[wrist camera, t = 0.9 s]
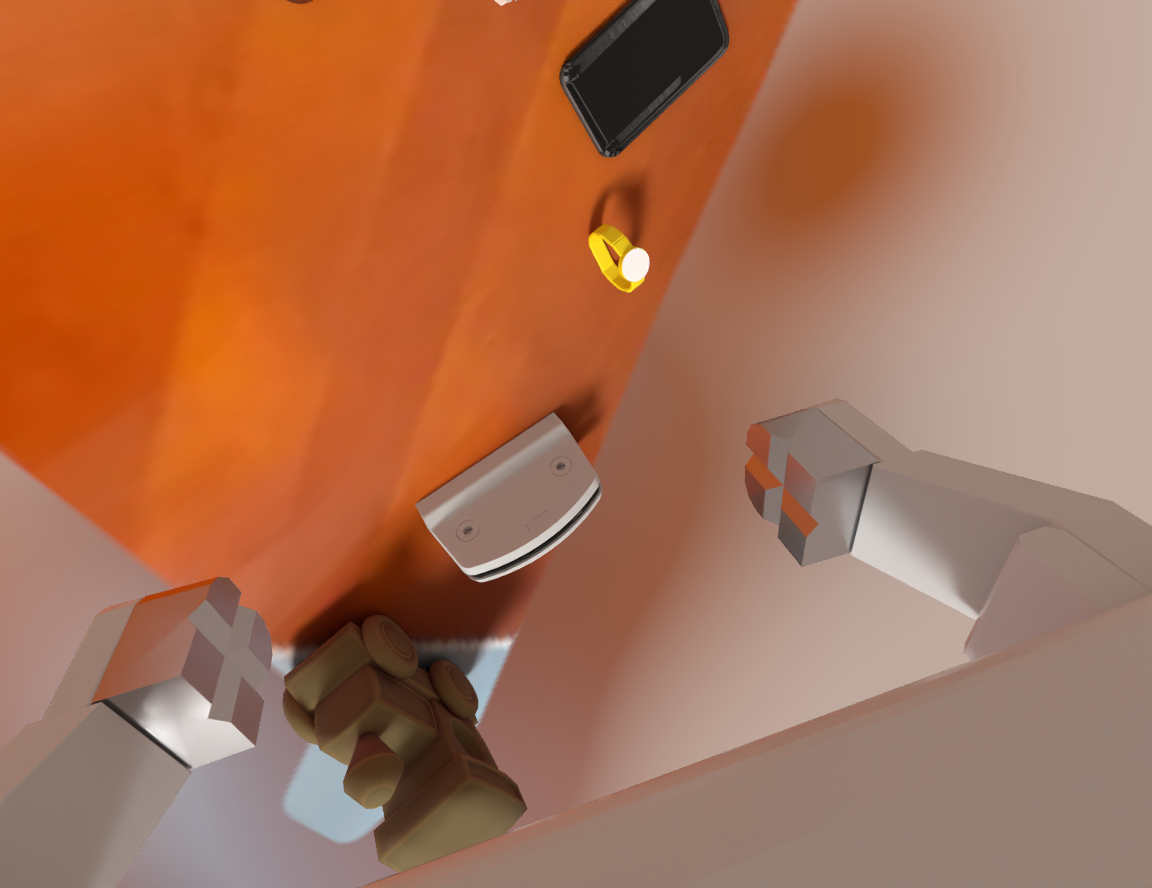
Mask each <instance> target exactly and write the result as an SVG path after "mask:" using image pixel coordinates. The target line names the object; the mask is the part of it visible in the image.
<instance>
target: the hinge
mask: <svg viewBox="0 0 1152 888" xmlns="http://www.w3.org/2000/svg"><path fill="white" fill-rule="evenodd" d="M601 491H602V486H601V483H600V481H599V477H598V475H597V474H596V472H595V471H594V469H593V467H592V466H591V464H590V463H589V461H588V459H587V458H586V456H585V455H584V453H583V452H582V450H581V449H580V447H579V446H578V444H577V442H576V441H575V439H574V438H573V436H572V435H571V433H570V432H569V430H568V429H567V428H566V426H565V425H564V424H563V422H562V421H561V420H560V419H559V418H558V417H557V415H556V414H555V413H554V412H553V413H551V414H550V415H548V416H547V417H545V418H544V419H543V420H541V421H540V422H538V423H537V424H535V425H534V426H532V427H531V428H529V429H528V430H526V431H525V432H523V433H522V434H520V435H519V436H517V437H516V438H514V439H513V440H511V441H510V442H508V443H507V444H505V445H504V446H502V447H501V448H499V449H498V450H496V451H495V452H493V453H492V454H490V455H489V456H487V457H486V458H484V459H483V460H481V461H480V462H478V463H477V464H475V465H474V466H472V467H471V468H469V469H468V470H466V471H465V472H463V473H462V474H460V475H459V476H457V477H456V478H454V479H453V480H451V481H450V482H448V483H447V484H445V485H444V486H442V487H441V488H439V489H438V490H436V491H435V492H433V493H432V494H430V495H429V496H427V497H426V498H424V499H423V500H421V501H420V502H418V503H417V504H415V505H416V507H417V509H418V511H419V513H420V514H421V516H422V518H423V520H424V522H425V524H426V526H427V528H428V530H429V531H430V532H431V533H432V534H433V536H434V537H435V538H436V539H437V541H438V542H439V543H440V544H441V545H442V547H443V548H444V549H445V550H446V551H447V553H448V554H449V555H450V556H451V557H452V559H453V560H454V561H455V562H456V563H457V565H458V566H459V567H460V568H461V570H462V571H463V572H464V573H466V575H467V576H468V577H469V578H470V579H472V580H475V581H478V582H486V581H489V580H492V579H495V578H498V577H501V576H503V575H506V574H509V573H511V572H513V571H515V570H518V569H520V568H522V567H524V566H525V565H527V564H529V563H531V562H533V561H534V560H536V559H538V558H539V557H541V556H543V555H544V554H546V553H547V552H548V551H550V550H551V549H553V548H554V547H555V546H557V545H558V544H559V543H560V542H562V541H563V540H564V539H565V538H566V537H567V536H568V535H570V534H571V533H572V532H573V531H574V530H575V529H576V528H577V527H578V526H579V525H580V524H581V522H582V521H583V520H584V519H585V518H586V517H587V516H588V514H589V513H590V512H591V511H592V509H593V508H594V507H595V505H596V504H597V502H598V501H599V499H600V497H601Z"/></svg>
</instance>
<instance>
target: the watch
mask: <svg viewBox="0 0 1152 888" xmlns="http://www.w3.org/2000/svg"><path fill="white" fill-rule="evenodd" d="M603 239H604V240H605V241H606V242H607V243H608V244H609V245H611V246H612V247H613V249H614V250H615V251H616V253H617V254H618V255H619V256H620V258H619V262H618V267H617V266H616V264H615V263H614V262H613V260H612V258H611V256H610V254H609V252H608V249H607V247H606V245H605V243H604V241H603ZM589 247H590V249H591V251H592V252H593V254H594V256H595V258H596V260H597V262H598V264H599V266H600V268H601V272H603V274H604V275H605V276H606V277H607V278H608V280H609V281H610V282H611V283H612V284H613V285H615V286H616V287H617V288H619V289H620V290H622V291H626V292H631V291H632V290H634V289H635V288H636V287H637V286H639V285H640V284H641V283H642V282H643V281H644V279H645V275H646V273H647V271H648V268H649V256H648V254H647V252H646V251H645V250H644V249H642V248H639V247H635V246H634V247H633V245H632V244H631V243H630V241H629V240H628V239H627V237H626V236H624V234H623V233H621V232H620V231H619V230H618V229H617V228H615V227H614V226H611V225H607V224H603V225H601V226H600V227H599V228H598V229H596V230H595V231H594V232H592V233H591V234H590V235H589Z"/></svg>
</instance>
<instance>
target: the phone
mask: <svg viewBox="0 0 1152 888" xmlns="http://www.w3.org/2000/svg"><path fill="white" fill-rule="evenodd" d="M728 45H729V33H728V30H727V27H726V24H725V21H724V19H723V16H722V13H721V10H720V7H719V5H718V2H717V0H632V1H631V2H629V3H628V4H627V5H626V6H625V7H624V8H623V9H622V10H621V11H620V12H619V13H618V14H617V15H616V16H614V17H613V18H612V19H611V20H610V21H609V22H608V23H607V24H606V25H605V26H604V27H603V28H602V29H601V30H599V31H598V32H597V33H596V34H595V35H594V36H593V37H592V38H591V39H590V40H589V41H588V42H587V43H586V44H584V45H583V46H582V47H581V48H580V49H579V50H578V51H577V52H576V53H575V54H574V55H573V56H572V57H571V58H569V59H568V60H567V61H566V62H565V63H564V65H563V66H562V68H561V70H560V76H559V78H560V84H561V86H562V88H563V90H564V92H565V94H566V95H567V97H568V99H569V101H570V102H571V104H572V106H573V108H574V110H575V111H576V113H577V115H578V117H579V118H580V120H581V122H582V124H583V126H584V127H585V129H586V131H587V133H588V134H589V136H590V138H591V140H592V141H593V143H594V145H595V147H596V149H597V150H598V152H599V153H600V154H601V155H602V156H604V157H615V156H617V155H618V154H620V153H621V152H622V151H623V150H624V149H625V148H626V147H627V146H628V145H629V144H630V143H631V142H632V141H633V140H634V139H635V138H636V137H638V136H639V135H640V134H641V133H642V132H643V131H644V130H645V129H646V128H647V127H648V126H649V125H650V124H651V123H652V122H653V121H654V120H655V119H656V118H657V117H658V116H660V115H661V114H662V113H663V112H664V111H665V110H666V109H667V108H668V107H669V106H670V105H671V104H672V103H673V102H674V101H675V100H676V99H677V98H678V97H679V96H680V95H682V94H683V93H684V92H685V91H686V90H687V89H688V88H689V87H690V86H691V85H692V84H693V83H694V82H695V81H696V80H697V79H698V78H699V77H700V76H701V75H702V74H704V73H705V72H706V71H707V70H708V69H709V68H710V67H711V66H712V65H713V64H714V63H715V62H716V61H717V60H718V59H719V58H720V57H721V56H722V55H723V54H724V53H725V52H726V50H727V48H728Z"/></svg>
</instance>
